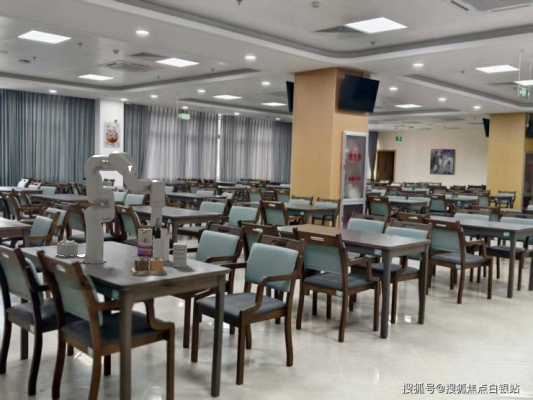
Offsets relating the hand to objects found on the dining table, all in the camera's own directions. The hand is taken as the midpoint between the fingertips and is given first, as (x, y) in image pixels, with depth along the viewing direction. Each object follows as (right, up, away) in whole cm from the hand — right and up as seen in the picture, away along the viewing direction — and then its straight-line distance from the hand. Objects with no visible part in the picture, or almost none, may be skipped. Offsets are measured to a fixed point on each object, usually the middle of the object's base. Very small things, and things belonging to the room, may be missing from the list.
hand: (156, 237), depth 277 cm
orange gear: (0, -17, +1) cm, 17 cm away
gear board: (-4, -18, 0) cm, 19 cm away
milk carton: (-4, -16, +34) cm, 38 cm away
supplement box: (+9, -18, +20) cm, 28 cm away
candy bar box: (-16, -15, +49) cm, 54 cm away
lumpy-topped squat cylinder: (-63, -14, +42) cm, 76 cm away
